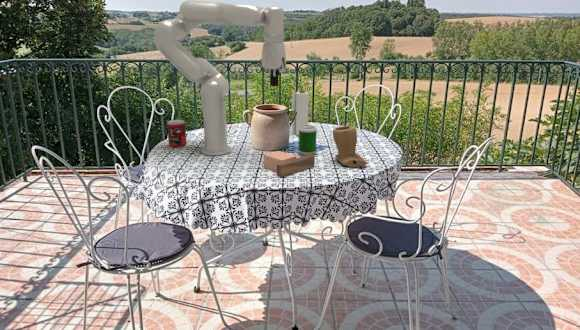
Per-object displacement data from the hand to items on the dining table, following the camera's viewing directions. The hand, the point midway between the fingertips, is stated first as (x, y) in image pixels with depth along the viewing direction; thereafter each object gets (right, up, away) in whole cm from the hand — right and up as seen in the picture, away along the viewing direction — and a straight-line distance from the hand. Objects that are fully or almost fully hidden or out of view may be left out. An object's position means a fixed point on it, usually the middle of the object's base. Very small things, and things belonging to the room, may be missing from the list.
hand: (274, 85), depth 183 cm
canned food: (-45, -24, +21) cm, 55 cm away
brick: (+3, -34, -9) cm, 35 cm away
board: (+9, -35, -12) cm, 38 cm away
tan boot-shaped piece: (+30, -32, -2) cm, 44 cm away
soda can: (+14, -28, +10) cm, 33 cm away
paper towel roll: (+12, -17, +40) cm, 46 cm away
